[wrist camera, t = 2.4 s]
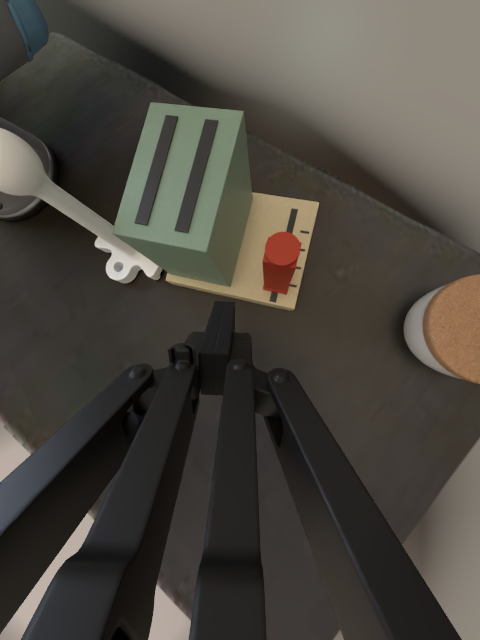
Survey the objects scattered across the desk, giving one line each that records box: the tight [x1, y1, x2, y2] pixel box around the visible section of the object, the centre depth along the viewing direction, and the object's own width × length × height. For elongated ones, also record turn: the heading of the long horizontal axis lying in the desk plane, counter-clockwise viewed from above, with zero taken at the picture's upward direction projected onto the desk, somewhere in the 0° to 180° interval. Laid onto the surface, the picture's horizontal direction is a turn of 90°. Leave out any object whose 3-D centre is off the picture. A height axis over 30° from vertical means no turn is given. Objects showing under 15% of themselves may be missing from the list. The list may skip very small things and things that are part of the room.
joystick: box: [0, 128, 163, 283], centre depth 25 cm, size 11×8×20 cm
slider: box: [262, 232, 302, 295], centre depth 24 cm, size 3×3×11 cm
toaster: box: [112, 102, 319, 311], centre depth 26 cm, size 16×18×14 cm
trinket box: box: [403, 274, 480, 384], centre depth 24 cm, size 11×11×9 cm
